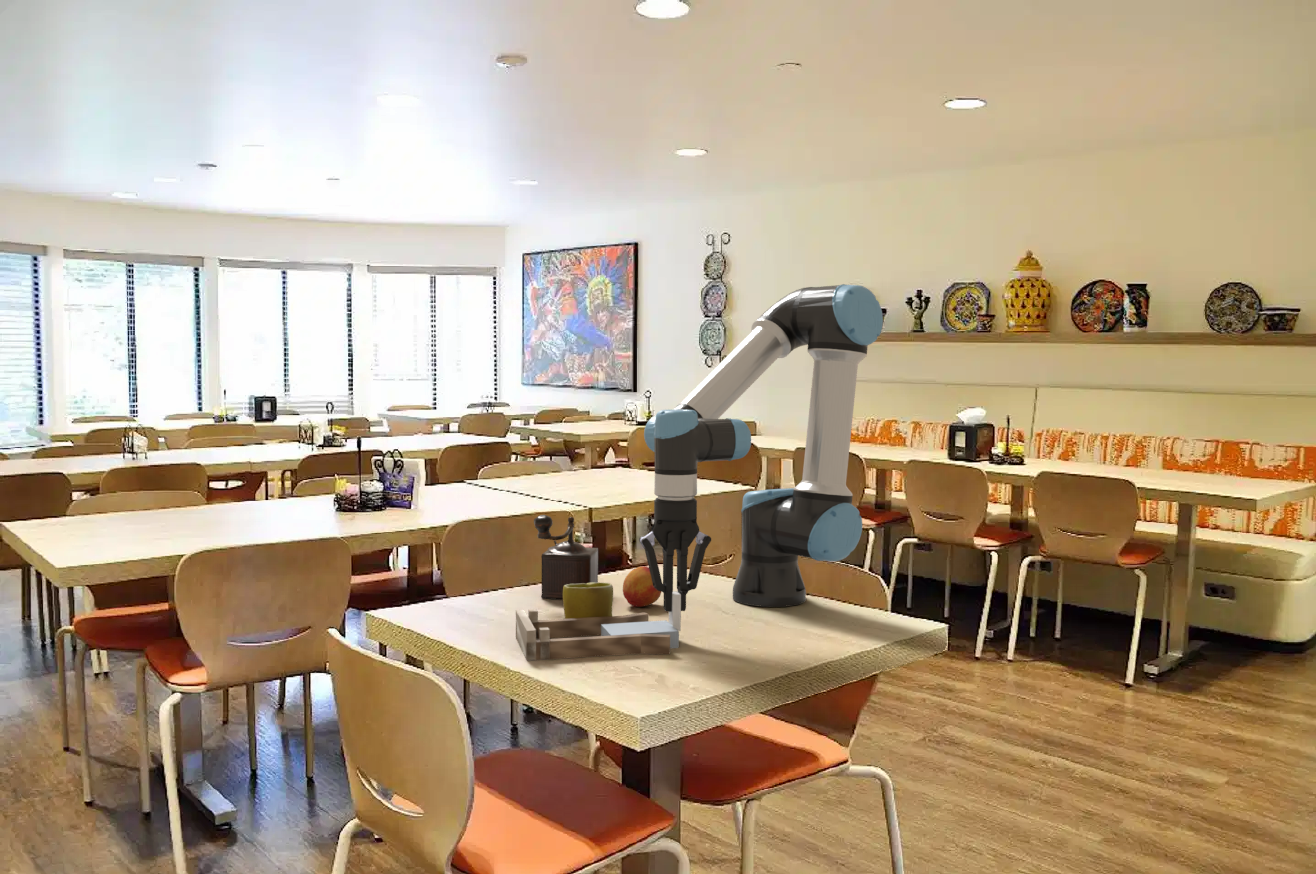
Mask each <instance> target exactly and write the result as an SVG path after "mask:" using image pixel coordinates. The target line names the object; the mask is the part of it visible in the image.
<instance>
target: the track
mask: <svg viewBox="0 0 1316 874" xmlns="http://www.w3.org/2000/svg"><path fill="white" fill-rule="evenodd" d="M647 621H649V613H647V612H639V613H631V614H624V615H612V616H608V617H589V618H570V619H565V618H557V619H555V618H554V619H539V609H537V608H536V609H535V608H533V609H528V612H527V613H526V611H525V610H524V609H521V610H520V609H519V610H518V609H516V610H515V640H516V641H517V643H518V645H519V647H520V649H521V651H522V653H523V656H524V658H525V660H526V661H540V660H541V661H544V660H559V659H575V658H589V657H590V658H591V657H607V656H608V657H609V656H624V655H638V654H639V655H640V654H643V655H645V654H646V655H670V653H671V648H670V635H660V634H630V635H612V636H601V624H614V623H631V622H647Z"/></svg>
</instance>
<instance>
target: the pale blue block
mask: <svg viewBox="0 0 1316 874" xmlns="http://www.w3.org/2000/svg"><path fill="white" fill-rule="evenodd" d="M630 634H660V635H670V649H678V648H679V649H680V647H679V646H680V645H679V643H680V642H679V641H680V636H679V635H680V631H678V630H677V629H676V628H675V627H673V626H672V625H671V624H670V623H669V620H668V621H667V620H648V621H647V622H631V623H614V624H601V635H600V636H612V635H630Z"/></svg>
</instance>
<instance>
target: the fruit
mask: <svg viewBox="0 0 1316 874" xmlns="http://www.w3.org/2000/svg"><path fill="white" fill-rule="evenodd" d="M661 594H662V592H661V591H658V590H656V589H655V588H654V586H653V583H652V578H651V574H650V570H649V566H643V565H642V566H639V567H636V568H634V569H632V570H631V571H629V572H628V574H627V575H626V576H625V578H624V580H623V585H622V595H623V597H624V599H625V600H626V601H627V603H628V604H629V605H631V606H632V607H635V608H642V607H648V606H650V605H652V604H654V603H655V602H657V600H659V598H660V597H661Z"/></svg>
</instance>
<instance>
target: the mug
mask: <svg viewBox="0 0 1316 874" xmlns="http://www.w3.org/2000/svg"><path fill="white" fill-rule="evenodd" d="M613 602H614V587H613V584H612V583H609V582H600V581H598V583H595V582H592V583H586V584H585V583H581V584H567V585H564V587H563V600H562V603H563V605H562V606H563V612H564V619H570V618H589V617H608V616H613Z"/></svg>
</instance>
